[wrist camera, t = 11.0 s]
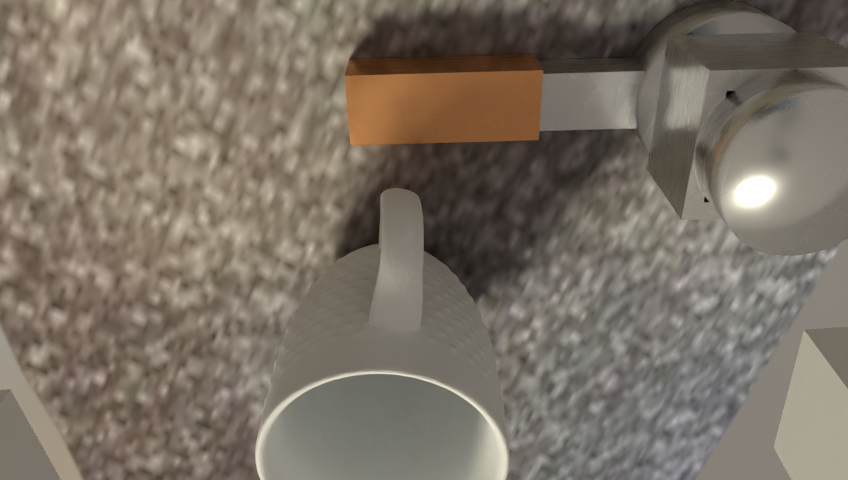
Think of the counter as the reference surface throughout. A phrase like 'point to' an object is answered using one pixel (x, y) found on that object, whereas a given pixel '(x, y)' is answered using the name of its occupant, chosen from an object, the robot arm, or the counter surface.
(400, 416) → the mug
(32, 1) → the counter surface
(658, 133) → the metal knob on block
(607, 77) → the ratchet
